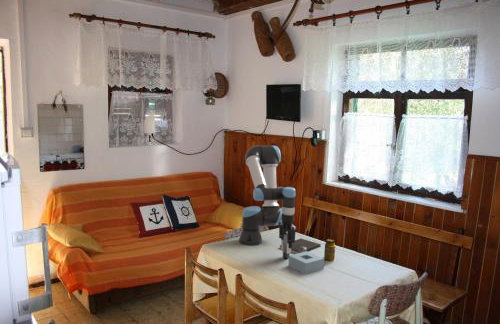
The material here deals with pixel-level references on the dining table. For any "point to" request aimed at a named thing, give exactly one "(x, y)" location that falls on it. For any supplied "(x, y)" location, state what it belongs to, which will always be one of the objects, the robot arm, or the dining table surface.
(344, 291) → the dining table surface
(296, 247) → the hardcover book
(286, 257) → the long pin
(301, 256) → the hole block
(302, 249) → the short pin
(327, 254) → the condiment
